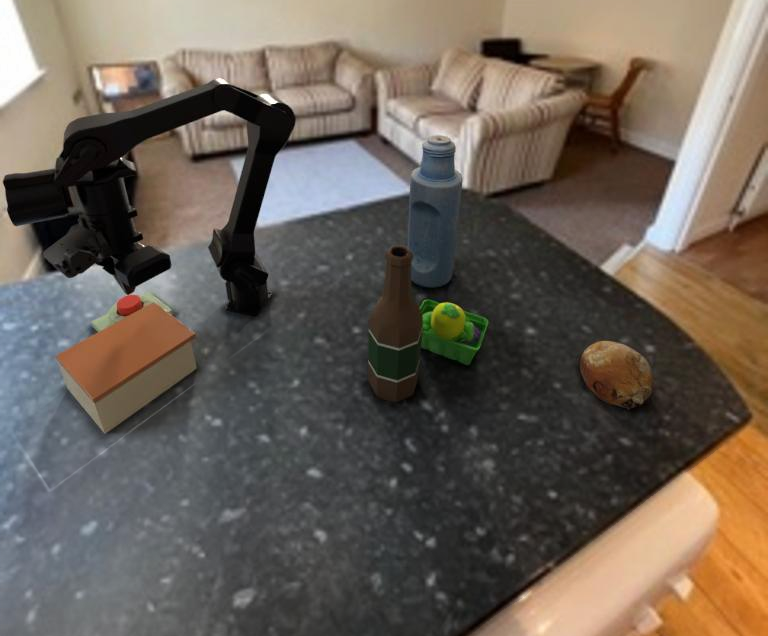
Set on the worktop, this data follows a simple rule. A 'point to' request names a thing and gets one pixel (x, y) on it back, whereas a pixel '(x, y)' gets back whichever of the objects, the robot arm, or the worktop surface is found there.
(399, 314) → the beer bottle
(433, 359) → the worktop surface
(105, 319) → the button housing
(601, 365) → the brown oval lump
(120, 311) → the button
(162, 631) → the worktop surface
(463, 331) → the fruit basket
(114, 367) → the box lid
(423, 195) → the bottle
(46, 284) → the worktop surface
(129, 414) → the wooden box
